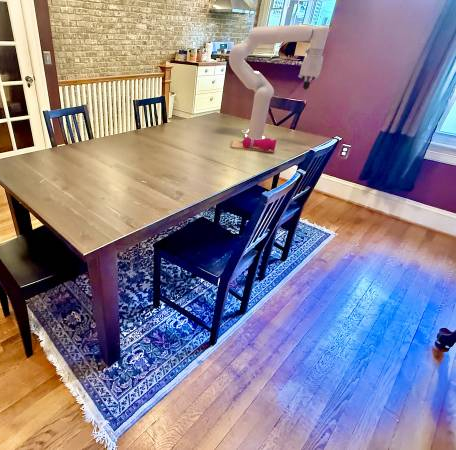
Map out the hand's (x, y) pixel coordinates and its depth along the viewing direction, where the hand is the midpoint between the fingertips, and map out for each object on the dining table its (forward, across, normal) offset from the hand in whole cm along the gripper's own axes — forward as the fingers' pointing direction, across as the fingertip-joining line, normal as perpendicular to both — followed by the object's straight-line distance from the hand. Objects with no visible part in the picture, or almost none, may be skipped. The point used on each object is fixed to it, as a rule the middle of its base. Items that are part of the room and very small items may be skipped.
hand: (305, 89), depth 175 cm
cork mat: (+32, -23, -15) cm, 42 cm away
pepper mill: (+28, -11, -22) cm, 37 cm away
